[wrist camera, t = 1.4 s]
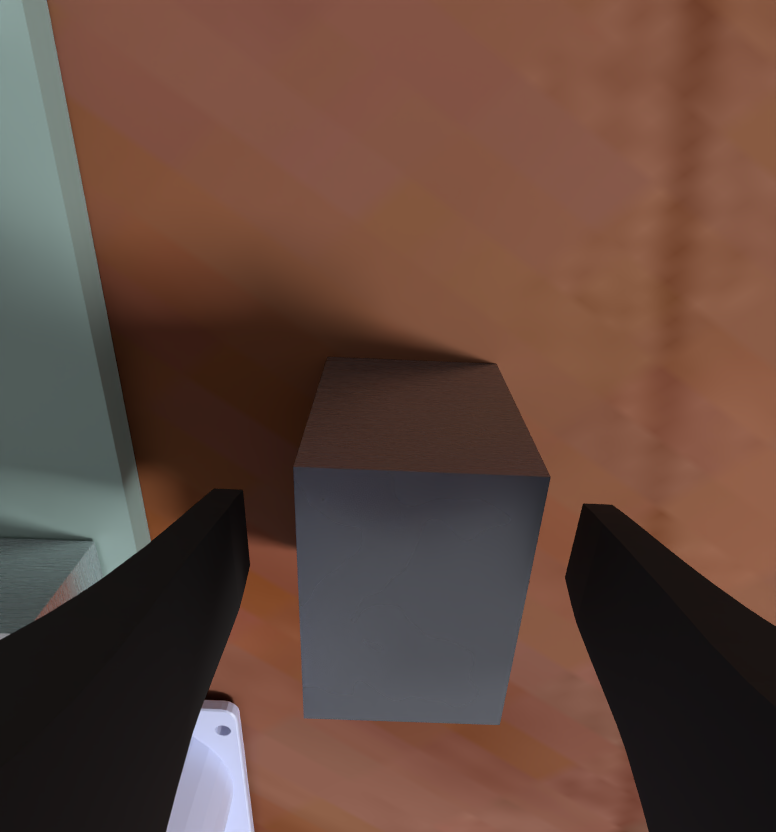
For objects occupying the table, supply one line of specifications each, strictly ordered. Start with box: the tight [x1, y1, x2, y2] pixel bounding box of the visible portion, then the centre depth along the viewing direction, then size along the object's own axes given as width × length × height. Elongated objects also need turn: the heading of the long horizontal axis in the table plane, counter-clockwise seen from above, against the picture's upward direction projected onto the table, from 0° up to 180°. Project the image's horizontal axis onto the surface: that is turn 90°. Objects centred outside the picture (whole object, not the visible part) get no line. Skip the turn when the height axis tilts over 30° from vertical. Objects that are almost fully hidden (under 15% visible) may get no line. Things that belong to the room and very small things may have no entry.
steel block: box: [293, 357, 550, 725], centre depth 12 cm, size 6×4×5 cm, turn 178°
